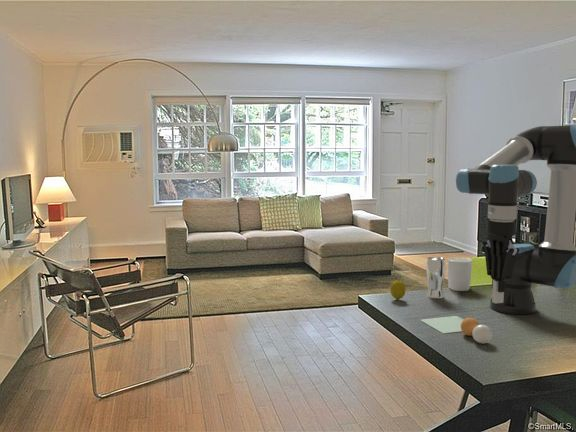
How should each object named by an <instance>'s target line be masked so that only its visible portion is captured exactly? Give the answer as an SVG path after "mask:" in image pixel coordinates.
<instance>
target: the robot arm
mask: <svg viewBox="0 0 576 432" xmlns="http://www.w3.org/2000/svg"><path fill="white" fill-rule="evenodd" d="M529 161H547V162H546V166H547V167H548V169H550V179H549V191H548V199H547V208H546V209H547V210H546V219H545V220H546V221H545V231H544V240H543V241H542V242H541V243H540V244H539V245H538V249H535V246H534V244H530V243H514V240H513V237H514V236H515V234H516V228H517V222H516V220H517V214H518V212H517V211H518V198H519V197H522V198H523V197H525V196H528V195H531V194H532V193H533V192H534V191H535V190H536V188H537V185H538V181H537V177H536V176H535V174H534V173H533V172H532V171H530V170H527V169H519V165H521V164H525V163H528V162H529ZM455 185H456V189H457V191H458V192H460V193H463V194H469V195H472V194H473V195H488V202H487V205H488V206H487V218H488V220H487V223H486V233H487V234H488V235H489V236H488V240H486V241H485V240H484V241H482V246H483V249H484V256H485V264H486V265H485V266H486V275H487V276H490V278H491V292H492V295H491V298H490V301H489V303H490V304H489V305H490V306H489V307H490V308H491V309H493V310H494V311H496V312H500V313H505V314H510V315H530V314H534V313H535V312H536V311H537V309H536V307H537V304H536V301H535V297H534V294H533V293H534V292H533V291H532V290H533V289H532V284H534V285H535V284H536V285H540V286H546V287H552V288H555V289H571V288H573V287H575V285H576V246H574V242H573V241H574V231H575V220H576V125H575V124H571V125H549V126H547V125H546V126H545V125H541V126H540V125H539V126H535V127H532V128H528V129H526V130H524V131H522V132H520V133H519V132H518V133H517V134H515V135H514V136H513V137H512V138H510V139H508V141H507V142H506V144H505V146H504V147H502V148H500V149H499V150H497V152H495V153H493V154H492V155H491V156H490V157H488V158H487V159H485V160H484V161H483V162H481V163H480V164H478V165H477V166H475V167H474V168H461V169H459V171H458V172H457V174H456V177H455Z"/></svg>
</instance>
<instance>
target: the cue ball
mask: <svg viewBox="0 0 576 432" xmlns="http://www.w3.org/2000/svg"><path fill="white" fill-rule="evenodd" d="M472 335H473V336H472V338H473V339H474V341H475V342H477V343H478V344H487V343H490V341H491V339H492V338H493V333H492V330H491V328H490V327H489V326H488V325H485V324H479V325H477V326H476V327H475V328H474V329H473V332H472Z"/></svg>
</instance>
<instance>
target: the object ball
mask: <svg viewBox="0 0 576 432" xmlns="http://www.w3.org/2000/svg"><path fill="white" fill-rule="evenodd" d="M477 325H480V322H478V320H476V319H475V318H473V317H465V318H463V321H462V323H461V330H462V333H463V334H465V335H466V336H468V337H473V335H472V332H473V329H474V328H475V327H476V326H477Z"/></svg>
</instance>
